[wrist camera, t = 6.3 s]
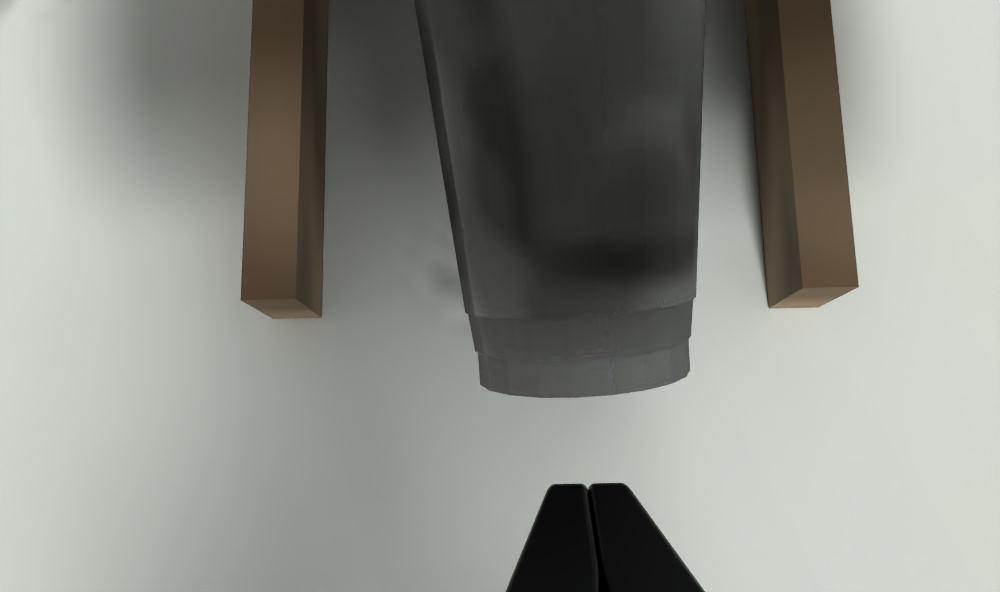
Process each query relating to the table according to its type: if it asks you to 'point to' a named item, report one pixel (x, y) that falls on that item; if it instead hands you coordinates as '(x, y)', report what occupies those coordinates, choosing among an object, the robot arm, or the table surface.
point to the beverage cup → (571, 185)
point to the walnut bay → (778, 131)
